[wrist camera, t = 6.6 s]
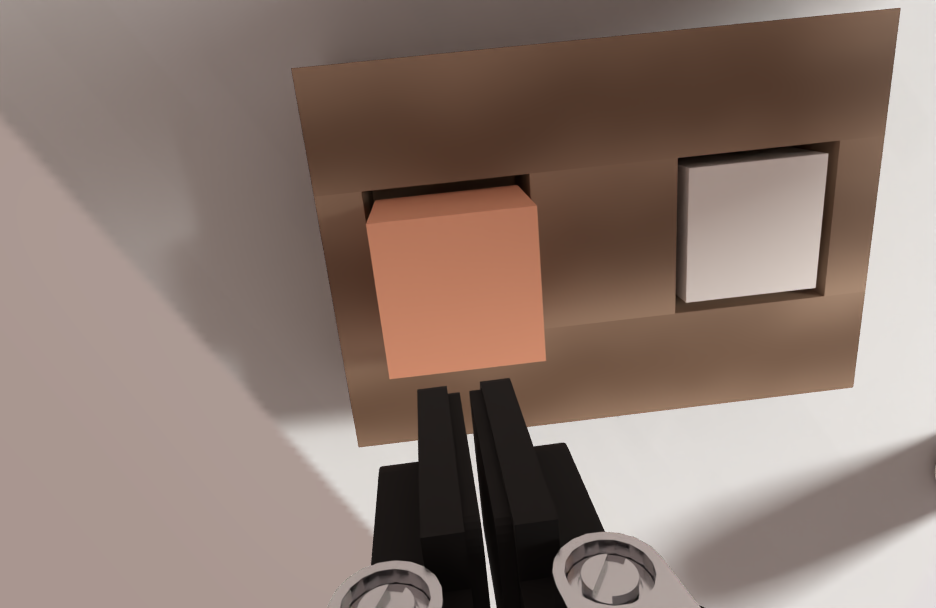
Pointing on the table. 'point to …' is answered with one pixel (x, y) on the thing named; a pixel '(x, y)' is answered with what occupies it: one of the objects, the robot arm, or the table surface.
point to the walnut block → (609, 204)
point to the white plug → (748, 222)
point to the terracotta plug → (458, 280)
